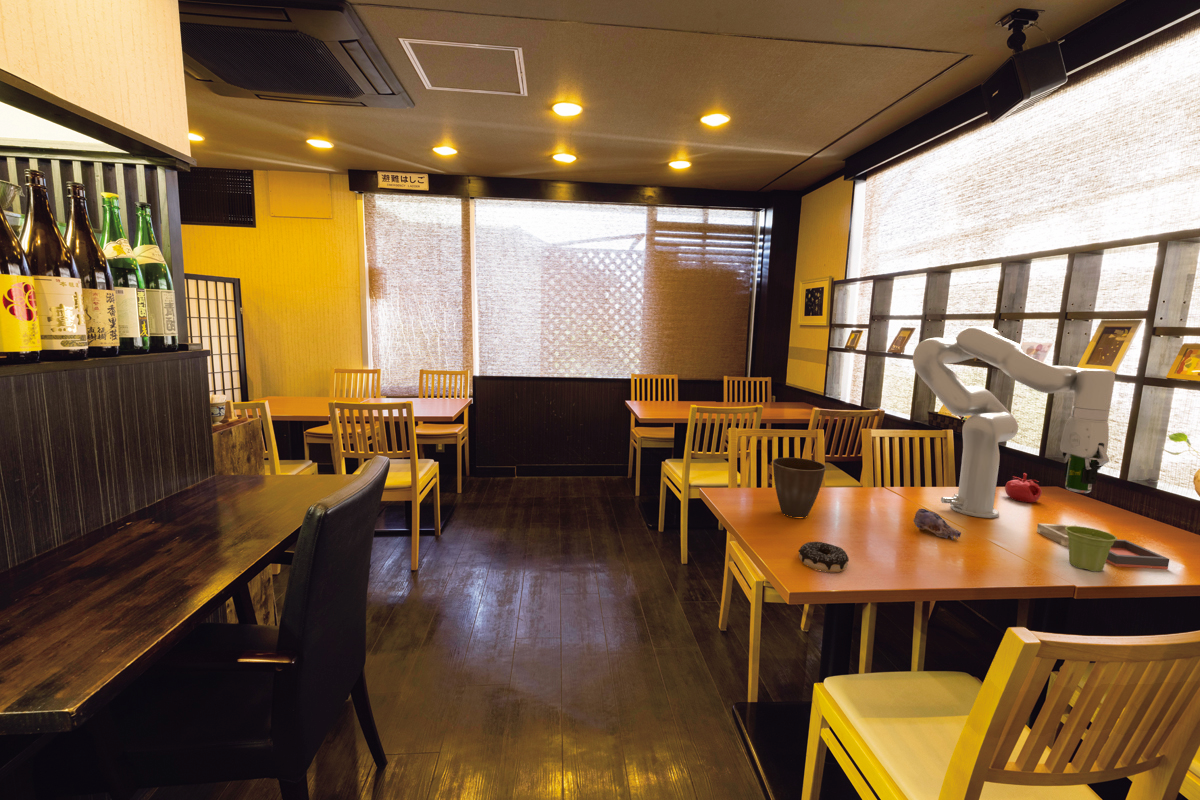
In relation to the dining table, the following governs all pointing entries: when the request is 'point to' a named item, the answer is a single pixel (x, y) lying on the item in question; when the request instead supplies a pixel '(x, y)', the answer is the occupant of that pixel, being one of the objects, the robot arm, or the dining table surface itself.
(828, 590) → the dining table surface
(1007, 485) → the pomegranate
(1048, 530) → the cedar frame
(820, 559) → the donut
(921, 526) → the skull
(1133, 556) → the lacquer tray
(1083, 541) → the plant pot
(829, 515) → the dining table surface
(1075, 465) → the beer can
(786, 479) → the plant pot
